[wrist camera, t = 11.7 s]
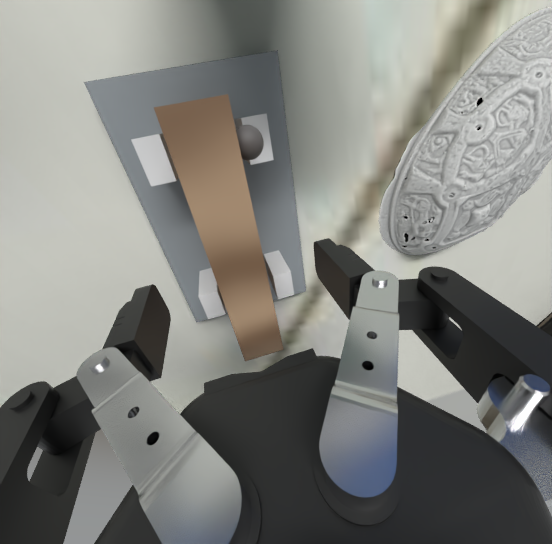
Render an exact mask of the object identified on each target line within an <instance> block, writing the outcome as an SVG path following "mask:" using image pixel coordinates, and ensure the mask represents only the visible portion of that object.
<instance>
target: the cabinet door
mask: <svg viewBox="0 0 552 544" xmlns="http://www.w3.org/2000/svg"><path fill="white" fill-rule="evenodd" d="M154 110H155V113H156V116H157V118H158V121H159V124H160V127H161V130H162V132H163V135H164V138H165V141H166V143H167V146H168V149H169V152H170V154H171V157H172V160H173V163H174V166H175V168H176V171H177V174H178V177H179V179H180V182H181V185H182V188H183V190H184V193H185V196H186V199H187V202H188V204H189V207H190V210H191V213H192V215H193V218H194V221H195V224H196V226H197V229H198V232H199V235H200V238H201V240H202V243H203V246H204V249H205V251H206V254H207V257H208V260H209V262H210V265H211V268H212V271H213V274H214V276H215V279H216V282H217V285H218V287H219V290H220V293H221V296H222V298H223V301H224V304H225V307H226V310H227V312H228V315H229V318H230V321H231V323H232V326H233V329H234V332H235V334H236V337H237V340H238V343H239V346H240V348H241V351H242V354H243V357H244V359H245V361H248V360H251V359H254V358H258V357H261V356H264V355H267V354H270V353H274V352H277V351H280V350H283V345H282V341H281V336H280V331H279V327H278V322H277V317H276V313H275V308H274V304H273V299H272V294H271V290H270V285H269V281H268V276H267V271H266V267H265V262H264V258H263V253H262V248H261V244H260V239H259V234H258V230H257V225H256V221H255V216H254V211H253V207H252V202H251V198H250V193H249V188H248V184H247V179H246V175H245V170H244V165H243V161H242V159H244V160H254V159H256V158H257V157H258V156H259V155H260V154H261V152H262V150H263V146H264V141H263V137H262V134H261V133H260V131H259V130H258V129H257V128H256V127H254V126H252V125H242V126H240V127H239V128H237V129H236V128H235V124H234V119H233V115H232V110H231V105H230V101H229V96H228V94H226V95H221V96H215V97H209V98H204V99H198V100H193V101H187V102H182V103H176V104H170V105H165V106H159V107H154Z"/></svg>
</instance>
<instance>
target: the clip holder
mask: <svg viewBox="0 0 552 544" xmlns="http://www.w3.org/2000/svg"><path fill="white" fill-rule="evenodd" d="M84 83H85V86H86V88H87V90H88V92H89V94H90V96H91V98H92V100H93V103H94V105H95V107H96V109H97V111H98V113H99V115H100V117H101V120H102V122H103V124H104V126H105V128H106V130H107V132H108V135H109V137H110V139H111V141H112V143H113V145H114V147H115V149H116V152H117V154H118V156H119V158H120V160H121V162H122V164H123V166H124V169H125V171H126V173H127V175H128V177H129V179H130V181H131V183H132V186H133V188H134V190H135V192H136V194H137V196H138V198H139V201H140V203H141V205H142V207H143V209H144V211H145V213H146V215H147V218H148V220H149V222H150V224H151V226H152V228H153V230H154V232H155V235H156V237H157V239H158V241H159V243H160V245H161V247H162V250H163V252H164V254H165V256H166V258H167V260H168V262H169V264H170V267H171V269H172V271H173V273H174V275H175V277H176V279H177V281H178V284H179V286H180V288H181V290H182V292H183V294H184V296H185V298H186V301H187V303H188V305H189V307H190V309H191V311H192V313H193V316H194V318H195V320H196V322H200V321H203V320H207V319H211V318H215V317H218V316H222V315H225V314H228V312H227V310H226V307H225V304H224V301H223V298H222V296H221V293H220V290H219V287H218V285H217V282H216V279H215V276H214V274H213V271H212V268H211V265H210V262H209V260H208V257H207V254H206V251H205V249H204V246H203V243H202V240H201V238H200V235H199V232H198V229H197V226H196V224H195V221H194V218H193V215H192V213H191V210H190V207H189V204H188V202H187V199H186V196H185V193H184V190H183V188H182V185H181V182H180V179H179V177H178V174H177V171H176V168H175V166H174V163H173V160H172V157H171V154H170V152H169V149H168V146H167V143H166V141H165V138H164V135H163V132H162V130H161V127H160V124H159V121H158V118H157V116H156V113H155V110H154V107H159V106H165V105H170V104H176V103H182V102H187V101H193V100H198V99H204V98H209V97H215V96H221V95H226V94H228V96H229V101H230V105H231V110H232V115H233V119H234V124H235V128H236V129H237V128H239V127H240V126H242V125H252V126H254V127H256V128H257V129H258V130H259V131H260V133H261V134H262V137H263V141H264V146H263V150H262V152H261V154H260V155H259V156H258V157H257V158H256V159H254V160H244V159H242V161H243V165H244V170H245V175H246V179H247V184H248V188H249V193H250V198H251V202H252V207H253V211H254V216H255V221H256V225H257V230H258V234H259V239H260V244H261V248H262V253H263V258H264V262H265V267H266V271H267V276H268V281H269V285H270V290H271V294H272V299H273V300H277V299H281V298H285V297H288V296H292V295H294V294H298V293H301V292H305V291H306V286H305V278H304V269H303V261H302V252H301V244H300V236H299V227H298V219H297V210H296V202H295V193H294V185H293V176H292V168H291V160H290V151H289V143H288V134H287V126H286V117H285V109H284V100H283V92H282V83H281V75H280V67H279V58H278V50H277V51H271V52H265V53H259V54H252V55H246V56H240V57H234V58H228V59H222V60H216V61H210V62H204V63H198V64H192V65H185V66H179V67H173V68H167V69H161V70H155V71H149V72H143V73H137V74H131V75H125V76H118V77H112V78H106V79H100V80H94V81H88V82H84Z"/></svg>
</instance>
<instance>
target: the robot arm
mask: <svg viewBox="0 0 552 544" xmlns="http://www.w3.org/2000/svg"><path fill="white" fill-rule="evenodd" d="M314 256H315V268H316V272H317V275H318V278H319V279H320V281H321V282H322V283H323V285H324V286H325V287H326V289H327V290H328V292H329V293H330V294H331V296H332V297H333V298H334V300H335V301H336V303H337V304H338V305H339V307H340V308H341V309H342V311H343V312H344V314H345V315H346V316H347V318H348V319H349V320H350V322H349V326H348V330H347V334H346V339H345V343H344V347H343V351H342V356H341V359H339V358H335V357H330V356H316V354H315V352H314V350H313V348H312V349H309V350H306V351H303V352H300V353H297V354H294V355H290V356H287V357H286V358H284V359H282V360H280V361H279V362H277V363H275V364H274V365H272V366H270V367H269V368H267V369H265V370H263V371H261V372H252V373H240V374H231V375H228V376H225V377H222V378H219V379H215V380H212V381H209V382H206V383H204V393H203V394H202V395H200V396H199V397H197V398H196V399H195V400H193V401H192V402H191V403H190V404H189V405H188V406H187V407H186V408H185V409H184V410H183V411H182V412H181V414H179V413H178V412H177V411H176V410H175V409H174V407H173V406H172V405H171V404H170V403H169V402H168V401H167V400H166V399H165V398H164V397H163V396H162V394H161V393H160V392H159V391H158V390H157V389H156V388H155V387H154V386H153V385H152V384H151V383H150V381H152V380H155V379H159V378H161V375H162V369H163V363H164V357H165V351H166V345H167V339H168V333H169V327H170V321H171V318H170V313H169V310H168V308H167V306H166V304H165V302H164V300H163V298H162V297H161V295H160V293H159V291H158V289H157V288H156V286H155V285H149V286H145V287H142V288H138V289H136V290H135V292H134V295H133V297H132V300H131V301H129V302H127V303H126V304H125V305H124V306H123V307H122V308H121V309H120V311H119V313H118V315H117V317H116V320H115V322H114V324H113V327H112V329H111V331H110V333H109V335H108V338H107V340H106V342H105V344H104V347H103V349H102V350H100V351H98V352H96V353H94V354H93V355H91V356H90V357H89V358H87V359H86V360H85V361H84V362H83V363H82V365H81V366H80V367H79V369H78V371H77V376H76V377H74V378H72V379H70V380H68V381H66V382H64V383H62V384H60V385H58V386H56V387H54V388H53V387H51V386H50V385H49V384H48V383H47V382H36V383H33V384H30V385H28V386H26V387H24V388H23V389H21V390H20V391H18V392H17V393H15V394H14V395H13V396H11V397H10V398H9V399H8V400H7V401H6V402H5V403H4V404H3V405H2V406H1V408H0V544H63V542H64V539H65V536H66V532H67V529H68V525H69V522H70V518H71V515H72V511H73V508H74V505H75V501H76V498H77V494H78V490H79V487H80V484H81V481H82V477H83V474H84V470H85V467H86V463H87V460H88V456H89V453H90V450H91V446H92V443H93V439H94V436H95V433H96V432H97V431H98V430H100V429H102V431H103V433H104V434H105V436H106V438H107V440H108V441H109V443H110V445H111V447H112V448H113V450H114V451H115V454H116V455H117V457H118V459H119V461H120V462H121V464H122V465H123V467H124V469H125V471H126V473H127V474H128V476H129V478H130V480H131V481H132V483H133V485H132V487H131V488H130V490H129V492H128V493H127V495H126V496H125V498H124V499H123V501H122V502H121V504H120V505H119V507H118V508H117V510H116V511H115V513H114V514H113V516H112V518H111V519H110V520H109V522H108V523H107V525H106V527H105V528H104V530H103V531H102V533H101V534H100V536H99V537H98V539H97V540H96V542H95V543H94V544H552V516H551V514H550V512H549V509H548V507H550V506H552V336H550V335H549V334H547V333H546V332H544V331H543V330H541V329H540V328H538V327H537V326H535V325H534V324H532V323H531V322H529V321H528V320H526V319H525V318H523V317H522V316H520V315H519V314H517V313H516V312H514V311H513V310H511V309H510V308H508V307H507V306H505V305H504V304H502V303H501V302H499V301H498V300H496V299H495V298H493V297H492V296H490V295H489V294H487V293H486V292H484V291H483V290H481V289H480V288H478V287H477V286H475V285H474V284H472V283H471V282H469V281H468V280H466V279H465V278H463V277H462V276H460V275H459V274H457V273H456V272H454V271H452V270H450V269H447V268H443V267H427V268H424V269H422V270H421V271H420V272H419V276H418V279H406V280H398V278H397V277H396V276H395V275H393V274H391V273H389V272H385V271H375V270H374V269H373V268H372V267H370V266H369V265H368V264H367V263H366V262H365V261H364V260H362V259H361V258H360V257H359V256H358V255H357V254H355V253H354V252H353V251H352V250H351V249H350V248H348V247H345V246H343V245H338V246H337V245H336V244H335V243H334V242H333V241H332V240H330V239H329V238H327V239H324V240H320V241H316V242H314ZM449 317H451V318H452V319H453V320H454V321H455V322H456V323H457V324H458V325H459V326H460V327H461V329H462V330H460V329H459V328H458V327H457V326H456V325H455V324H454V323H453V322H451V321H450V320H449ZM399 330H413V331H414V333H415V334H416V335H417V336H418V337H419V338H420V339H421V340H422V341H423V343H424V344H425V345H426V346H427V347H428V348H429V349H430V350H431V352H432V353H433V354H434V355H435V356H436V357H437V358H438V359H439V361H440V362H441V363H442V364H443V365H444V366H445V367H446V368H447V369H448V371H449V372H450V373H451V374H452V375H453V376H454V377H455V378H456V380H457V381H458V382H459V383H460V384H461V385H462V386H463V387H464V389H465V390H466V391H467V392H468V393H469V394H470V395H471V396H472V397H473V399H474V400H475V401H476V402H477V403H478V405H477V414H478V417H479V419H480V421H481V423H482V424H483V426H484V427H485V429H486V433H485V432H484V431H482V430H480V429H479V428H477V427H475V426H473V425H471V424H469V423H467V422H465V421H463V420H461V419H459V418H457V417H455V416H453V415H452V414H449V413H447V412H445V411H444V410H442V409H440V408H438V407H436V406H434V405H432V404H430V403H428V402H426V401H424V400H422V399H420V398H418V397H416V396H414V395H412V394H410V393H408V392H407V391H405V390H403V389H401V388H399V387H397V378H398V343H399ZM37 447H39V448H41V449H42V450H43V452H42V454H41V457H40V459H39V461H38V464H37V466H36V468H35V470H34V473H33V475H32V477H31V479H30V482H29V481H28V478H27V468H28V466H29V463H30V461H31V459H32V457H33V454H34V452H35V450H36V448H37Z"/></svg>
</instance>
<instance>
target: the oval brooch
mask: <svg viewBox="0 0 552 544" xmlns="http://www.w3.org/2000/svg"><path fill="white" fill-rule="evenodd" d="M480 98H482V101H483V102H482V103H481V104H480V105H479V106H478V107H477V101H478V99H480ZM461 112H463V113H462V114H461ZM478 127H481V129H480V130H477V128H478ZM551 159H552V7H546V8H544V9H540V10H537V11H535V12H533V13H531V14H529V15H528V16H526V17H524V18H522V19H520V20H519V21H518V22H516V23H515V24H513V25H512V26H511V27H509V28H508V29H507V30H506V31H505V32H503V33H502V34H501V35H500V36H499V37H498V38H497V39H495V41H494V42H492V43H491V44H490V46H489V47H488V48H487V49H486V50H485V51H484V52H483V53H482V54H481V55H480V56H479V57H478V58H477V59H476V60H475V62H474V63H473V64H472V65H471V66H470V67H469V69H468V70H467V71H466V72H465V73H464V75H463V77H462V78H461V79H460V80H459V81H458V82H457V83H456V84H455V86H454V87H453V88H452V89H451V91H450V92H449V93H448V95H447V96H446V97H445V99H444V100H443V101H442V103H441V104H440V105H439V107H438V108H437V109H436V111H435V112H434V113H433V115H432V116H431V117H430V119H429V120H428V121H427V123H426V124H425V125H424V126H423V128H422V129H421V130H420V131H419V132H418V133H416V135H414V136H413V138H412V139H411V140H410V141H409V143H408V145H407V147H406V150H405V152H404V153H403V156H402V157H401V161H400V162H399V164H398V166H397V168H396V170H395V177H394V179H393V181H392V182H391V183H390V185H389V186H388V188H387V190H386V191H385V194H384V196H383V199H382V202H381V206H380V212H379V224H380V233H381V236H382V238H383V240H384V241H385V242H386V243H388V244H387V245H389V246H390V247H391V248H393V249H395V250H396V251H400V252H402V253H405V254H410V255H423V254H428V253H431V252H436V251H439V250H442V249H446V248H449V247H451V246H453V245H455V244H458V243H459V242H462V241H464V240H466V239H468V238H470V237H472V236H474V235H476V234H478V233H480V232H483V231H484V230H486V229H487V228H488V227H490V226H492V225H493V224H494V223H495V222H496V221H497V220H498V219H499V218H501V217H502V216H503V214H504V212H505V211H506V210H507V209H508V208H509V207H510V206H511V205H512V204H513V203H514V202H515V201H516V200H517V199H518V197H519V196H520V195H521V194H523V193H525V192H526V191H527V190H528V189H530V188H531V187H532V186H533V185H534V184H535V182H536V181H537V180H538V179H539V177H540V176H541V174H542V170H543V169H544V167H545V166H546V165H547V164H548V162H549V161H550V160H551ZM406 177H407V179H405V178H406ZM405 214H406V215H405ZM403 216H407V217H408V216H409V217H408V219H405V218H404V217H403ZM431 217H434V220H433V218H431ZM428 219H431V220H430V222H432V221H433V222H432V223H429V220H428ZM398 220H399V222H398ZM424 221H426V222H427V223H426V224H424V223H425V222H424ZM405 233H407V234H408V235H409V236H408V241H407V242H405V237H404V235H405ZM413 237H415V239H414V240H411V239H412V238H413ZM424 239H426V240H427V239H429V241H424ZM402 246H407V247H402ZM432 247H435V248H432Z"/></svg>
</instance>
